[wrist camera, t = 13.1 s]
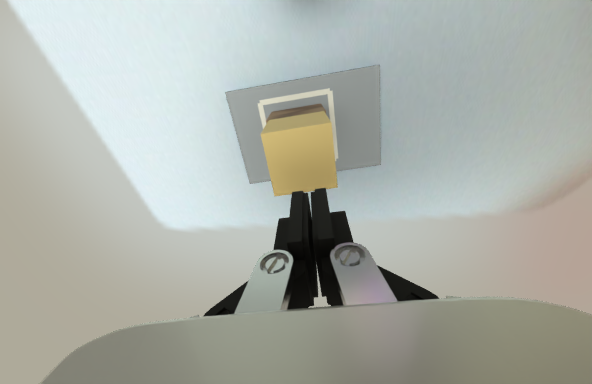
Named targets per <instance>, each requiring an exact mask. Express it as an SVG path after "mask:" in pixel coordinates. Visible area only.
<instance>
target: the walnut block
mask: <svg viewBox="0 0 592 384" xmlns="http://www.w3.org/2000/svg"><path fill="white" fill-rule="evenodd" d="M321 111H324V112H325V113H326V110H325V109H324V107H323V106H322V104H321V103H320V104H314V105H308V106H303V107H297V108H291V109H285V110H279V111H273V112H271V114H270V115H269V117H268V118H267V120H266V124H267V123H268V121H269V120H273V119H279V118H285V117H291V116H297V115H303V114H309V113H315V112H321Z"/></svg>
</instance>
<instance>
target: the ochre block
mask: <svg viewBox="0 0 592 384" xmlns="http://www.w3.org/2000/svg"><path fill="white" fill-rule="evenodd" d="M261 138H262V143H263V147H264V152H265V156H266V160H267V165H268V169H269V174H270V178H271V182H272V187H273V191H274V196H281V195H288V194H292V192H295V191H303V192H309V191H315V189H319V188H326V189H330V188H337V187H338V186H337V175H336V165H335V154H334V144H333V133H332V123H331V121H330V119H329V118H328V116H327V115H326V113H325V112H324V111H321V112H315V113H309V114H303V115H297V116H291V117H285V118H279V119H273V120H269V121H268V123H267V124H266V126H265V127H264V129H263V131H262V132H261Z"/></svg>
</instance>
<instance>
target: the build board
mask: <svg viewBox="0 0 592 384" xmlns="http://www.w3.org/2000/svg"><path fill="white" fill-rule="evenodd" d="M225 94H226V98H227V101H228V105H229V109H230V112H231V116H232V120H233V123H234V127H235V131H236V134H237V138H238V142H239V145H240V149H241V153H242V156H243V160H244V164H245V168H246V171H247V175H248V179H249V182H250V184H253V183H259V182H266V181H271V178H270V174H269V169H268V165H267V160H266V156H265V152H264V147H263V143H262V138H261V132H262V131H263V129H264V127H265V126H266V120H267V118H268V117H269V115H270V114H271V112H273V111H279V110H285V109H291V108H297V107H303V106H308V105H314V104H320V103H321V104H322V106H323V107H324V109H325V110H326V115H327V116H328V118H329V119H330V121H331V123H332V133H333V144H334V154H335V165H336V171H342V170H348V169H355V168H362V167H369V166H376V165H381V154H380V65H375V66H369V67H364V68H358V69H353V70H347V71H341V72H336V73H330V74H325V75H319V76H313V77H308V78H302V79H297V80H291V81H285V82H280V83H274V84H269V85H263V86H257V87H252V88H246V89H241V90H235V91H230V92H225Z"/></svg>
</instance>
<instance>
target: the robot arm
mask: <svg viewBox="0 0 592 384" xmlns="http://www.w3.org/2000/svg"><path fill="white" fill-rule="evenodd" d="M311 208H312V217H311V211H310V204H309V198H308V193H304V192H303V191H295V192H292V198H291V207H290V217H289V218H280V219H279V221H278V227H277V232H276V239H275V244H274V250H273V251H270V252H267V253H266V254H264V255H263V256H262V257H260V258H259V260H258V261H257V263H256V265H255V268H254V270H253V272H252V274H251V277H250V279H249V281H248V282H246V283H245V284H243V285H242V286H241V287H239V288H238V289H237V290H235V291H234V292H233V293H231V294H230V295H228V296H227V297H226V298H225V299H223V300H222V301H220V302H219V303H218V304H216V305H215V306H214V307H212V308H211V309H210V310H209V311H208V312H206V313H205V315H204V316H203V317H199V315H197V316H194V317H190V318H184V319H174V320H166V321H158V322H149V323H144V324H139V325H134V326H130V327H127V328H123V329H120V330H116V331H113V332H111V333H109V334H106V335H104V336H101V337H99V338H96V339H94V340H92V341H91V342H88V343H86V344H85V345H83V346H81V347H79V348H77V349H76V350H74V351H73V352H72V353H70V354H69V355H68V356H67V357H65V358H64V359H63V360H62V361H61V362H60V363H59V364H58V365H57V366H56V367H55V368H54V369H53V370H52V371H51V372H50V373H49V374H48V375H47V376H46V377H45V378H44V379H43V380H42V381H41V382H40V383H39V384H592V315H591V314H589V313H586V312H583V311H580V310H577V309H573V308H570V307H566V306H562V305H557V304H553V303H548V302H543V301H538V300H529V299H522V298H513V297H463V298H462V297H453V296H446V298H444V299H439V298H438V297H437V296H436V295H435V294H433V293H431V292H430V291H428V290H426V289H424V288H422V287H420V286H418V285H416V284H414V283H412V282H410V281H408V280H406V279H404V278H402V277H400V276H398V275H396V274H394V273H392V272H390V271H387V270H385V269H383V268H382V267H380V266H377V265H376V263H375V261H374V260H373V258H372V256H371V254H370V253H369V251H368V250H367V249H366V248H365V247H364V246H362V245H360V244H357V243H354V242H353V239H352V235H351V231H350V228H349V224H348V220H347V217H346V213H345V211H340V212H331V213H330V212H329V206H328V199H327V193H326V188H319V189H315V192H311ZM316 263H317V266H316ZM317 269H318V275H319V281H320V287H321V292H322V297H324V296H326V297H327V303H328V304H329V305H331V306H330V307H316V308H308V307H309V306H314V297H318V283H317Z"/></svg>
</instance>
